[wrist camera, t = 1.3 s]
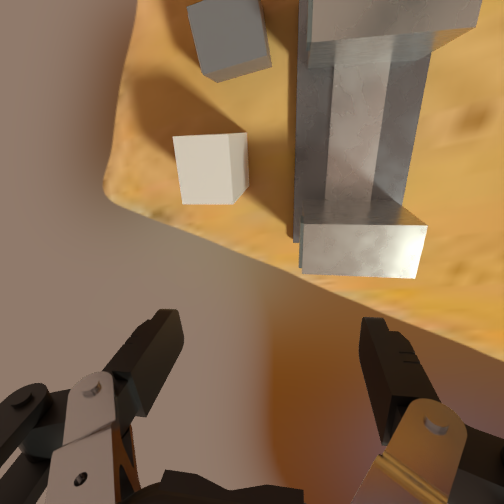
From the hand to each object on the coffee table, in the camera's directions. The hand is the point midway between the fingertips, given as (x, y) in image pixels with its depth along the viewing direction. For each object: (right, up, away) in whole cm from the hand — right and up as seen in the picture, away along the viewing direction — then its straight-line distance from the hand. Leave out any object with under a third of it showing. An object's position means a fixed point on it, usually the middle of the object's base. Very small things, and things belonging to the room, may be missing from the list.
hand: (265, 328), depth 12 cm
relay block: (-2, +24, +16) cm, 29 cm away
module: (-3, +14, +20) cm, 25 cm away
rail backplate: (+10, +16, +17) cm, 26 cm away
